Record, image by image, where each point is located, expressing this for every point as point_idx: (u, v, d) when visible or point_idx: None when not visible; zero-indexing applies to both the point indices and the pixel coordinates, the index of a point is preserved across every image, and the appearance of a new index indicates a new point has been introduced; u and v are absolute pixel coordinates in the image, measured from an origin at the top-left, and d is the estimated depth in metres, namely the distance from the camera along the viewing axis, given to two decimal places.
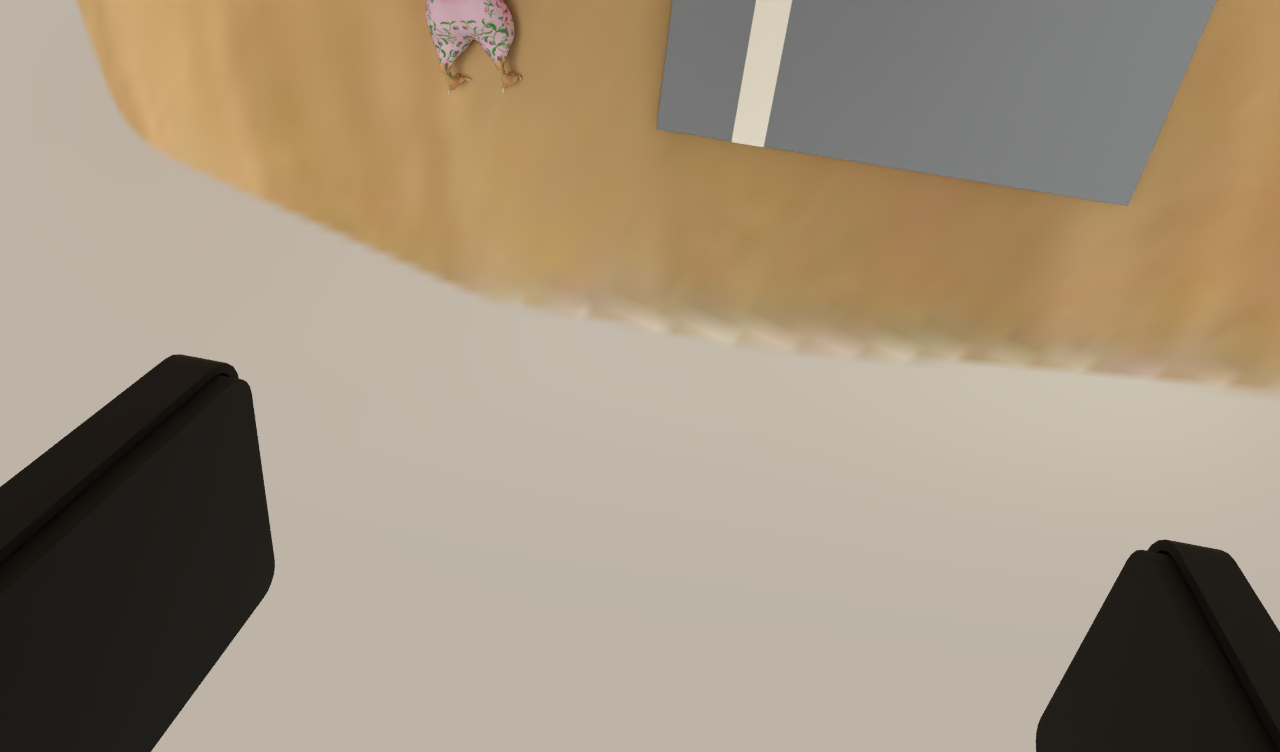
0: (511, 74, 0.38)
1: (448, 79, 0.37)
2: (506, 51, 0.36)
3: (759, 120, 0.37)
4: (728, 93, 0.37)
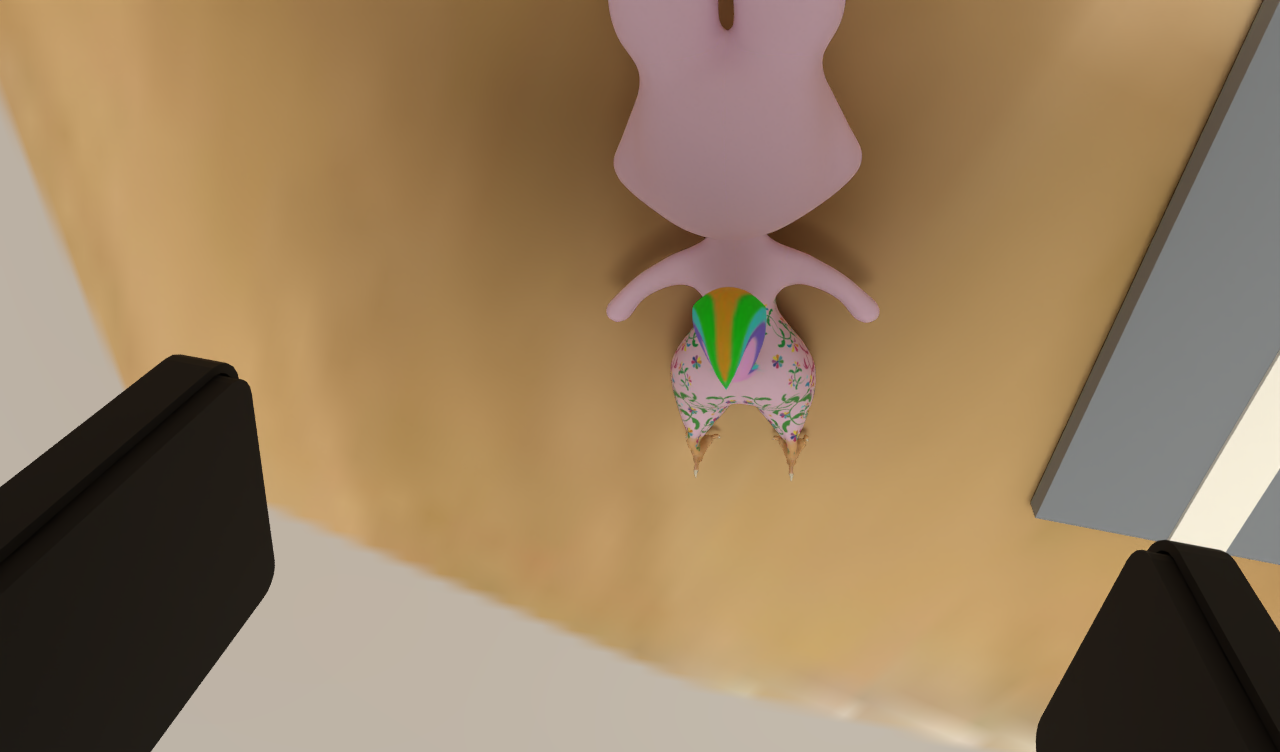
0: None
1: (695, 453, 0.22)
2: (804, 421, 0.21)
3: (1227, 521, 0.22)
4: (1179, 481, 0.21)
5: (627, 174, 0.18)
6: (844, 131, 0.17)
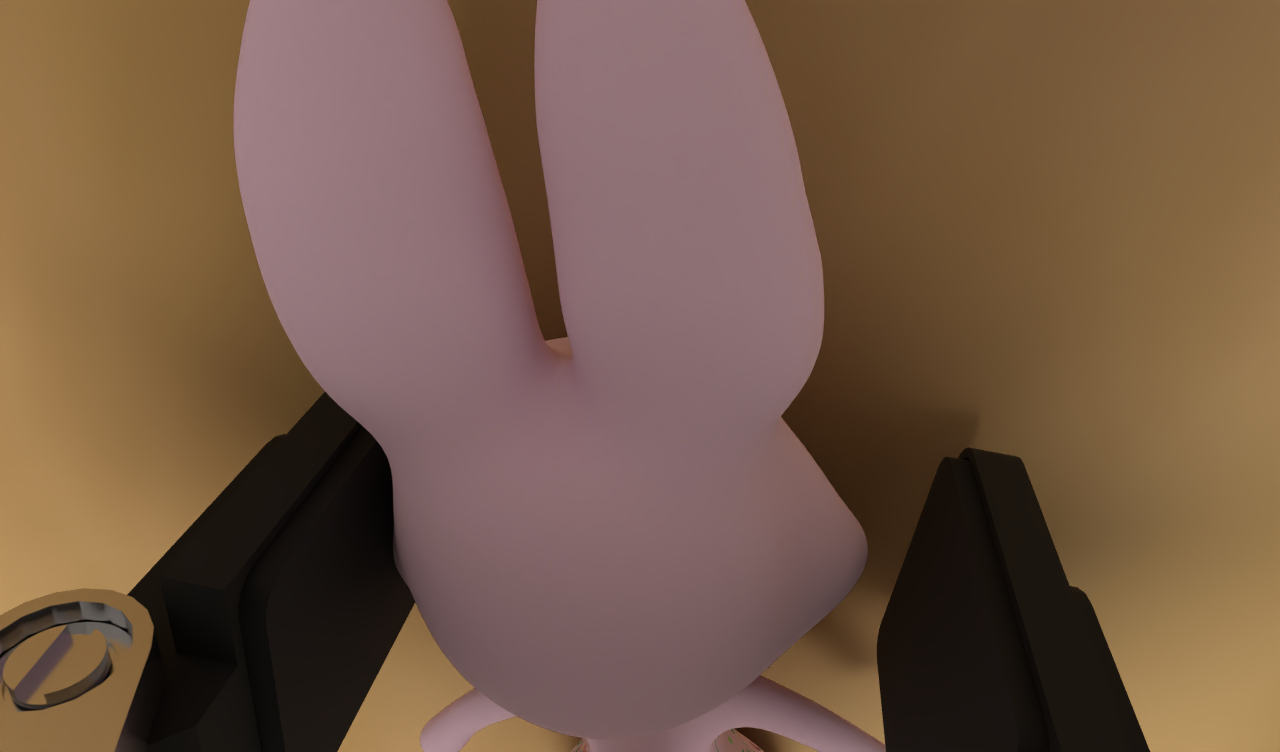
0: None
1: None
2: None
3: None
4: None
5: (406, 582, 0.09)
6: (830, 530, 0.08)
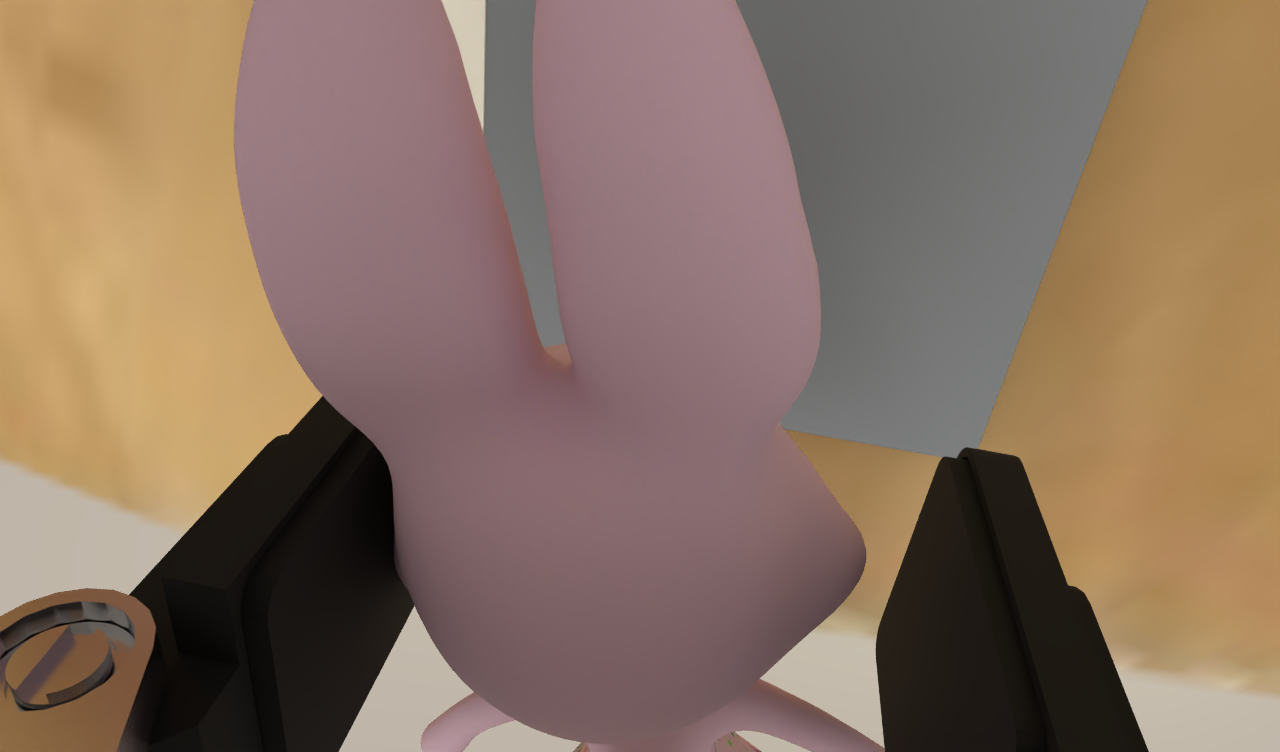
0: None
1: None
2: None
3: None
4: None
5: (405, 586, 0.09)
6: (828, 535, 0.08)
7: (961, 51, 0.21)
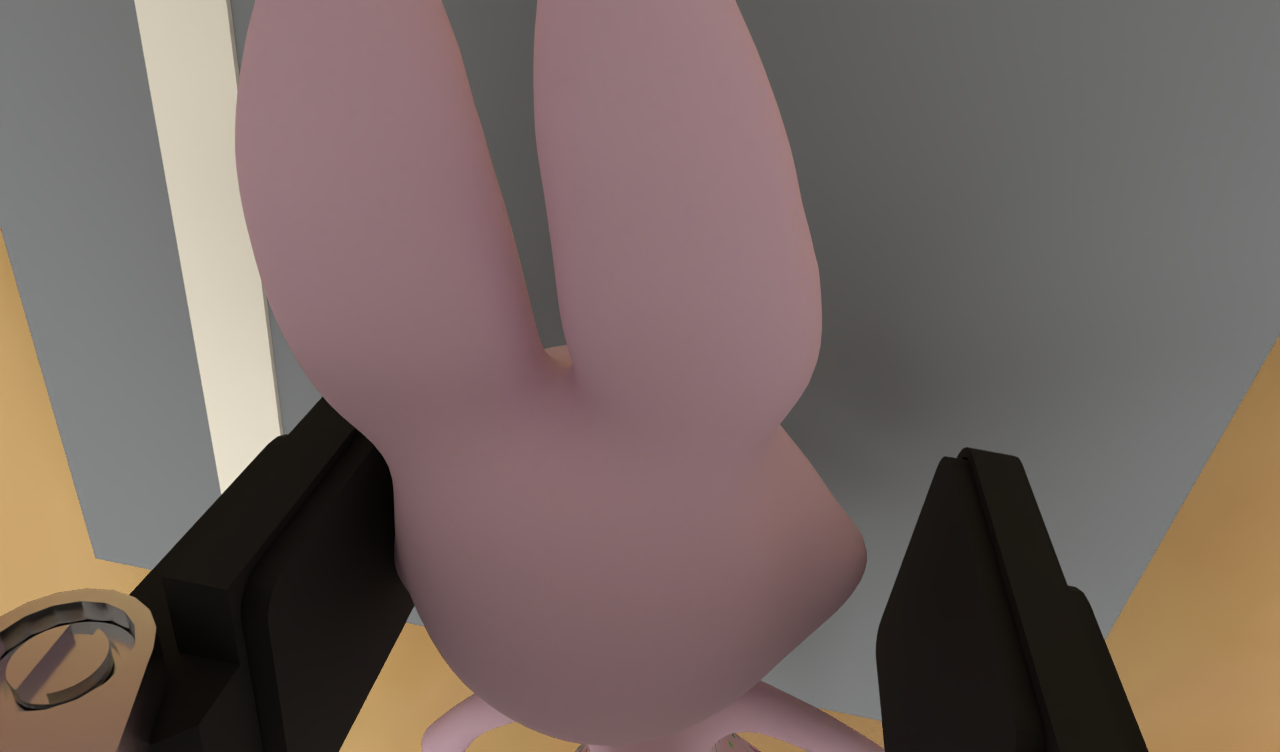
0: None
1: None
2: None
3: None
4: None
5: (407, 588, 0.09)
6: (829, 537, 0.08)
7: (1062, 168, 0.12)
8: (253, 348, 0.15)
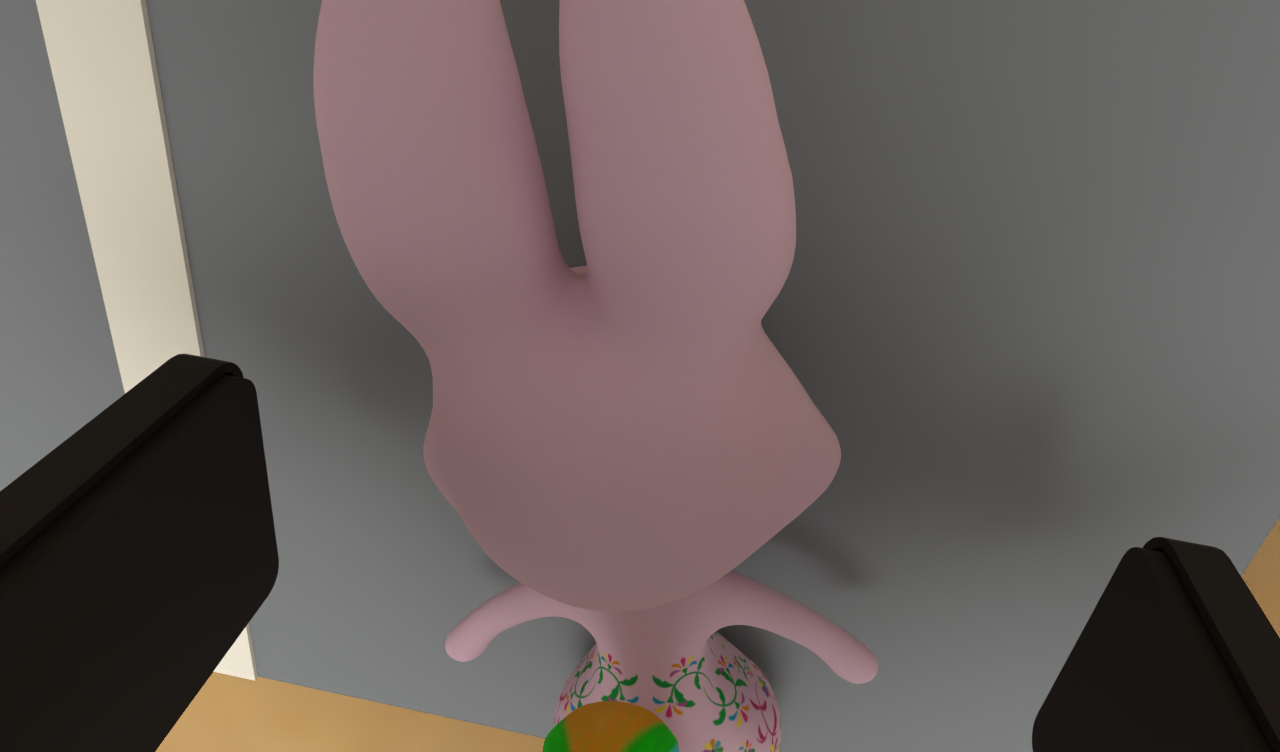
0: None
1: None
2: None
3: None
4: None
5: (438, 484, 0.10)
6: (807, 430, 0.09)
7: (1102, 225, 0.10)
8: None
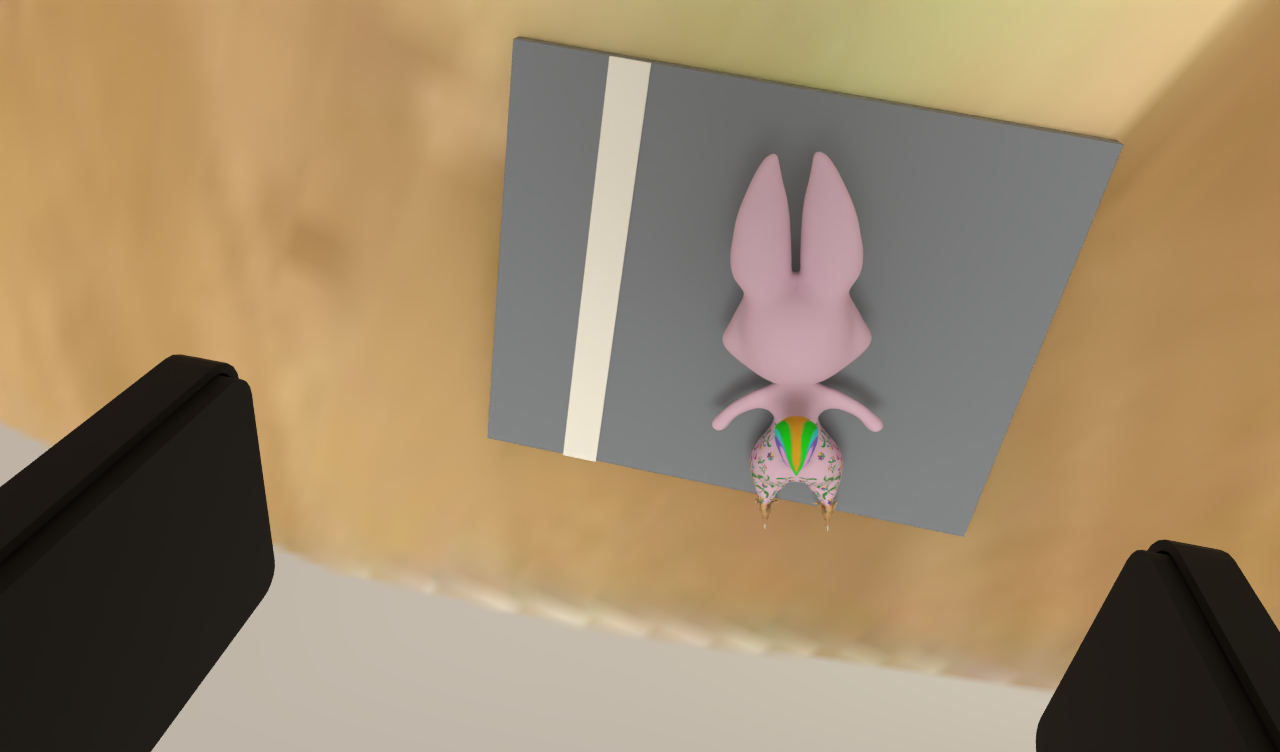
0: None
1: (764, 513, 0.34)
2: None
3: (589, 438, 0.36)
4: (556, 412, 0.36)
5: (732, 347, 0.30)
6: (861, 326, 0.29)
7: (961, 259, 0.30)
8: (606, 328, 0.33)
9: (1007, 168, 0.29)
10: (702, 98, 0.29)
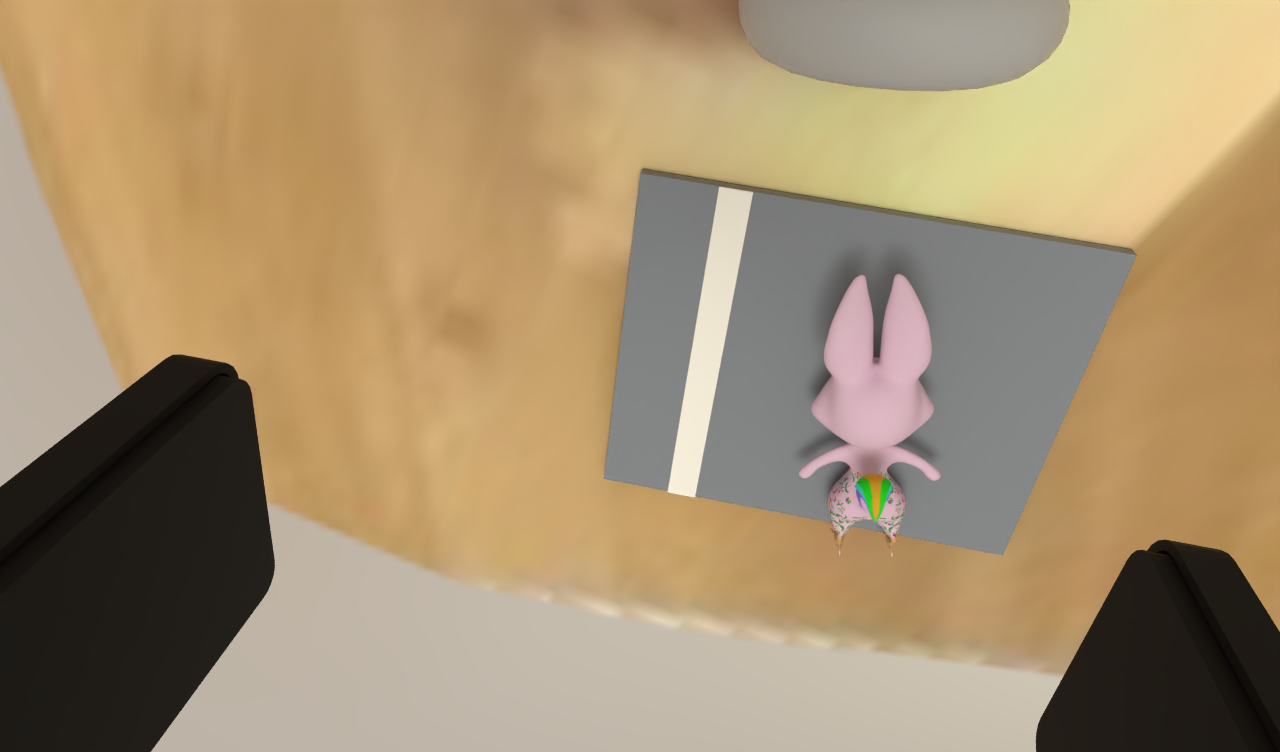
0: None
1: (839, 542, 0.42)
2: (899, 526, 0.41)
3: (690, 479, 0.43)
4: (663, 458, 0.43)
5: (821, 417, 0.38)
6: (926, 401, 0.37)
7: (1003, 341, 0.37)
8: (708, 393, 0.41)
9: (1042, 272, 0.35)
10: (794, 218, 0.36)
